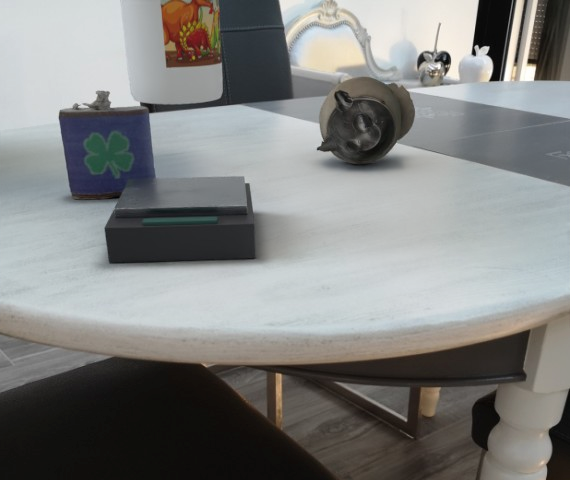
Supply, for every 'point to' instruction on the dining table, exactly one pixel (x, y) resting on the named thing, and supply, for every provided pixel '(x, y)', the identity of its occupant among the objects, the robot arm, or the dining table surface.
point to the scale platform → (182, 197)
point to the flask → (105, 147)
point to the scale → (181, 237)
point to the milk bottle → (173, 50)
